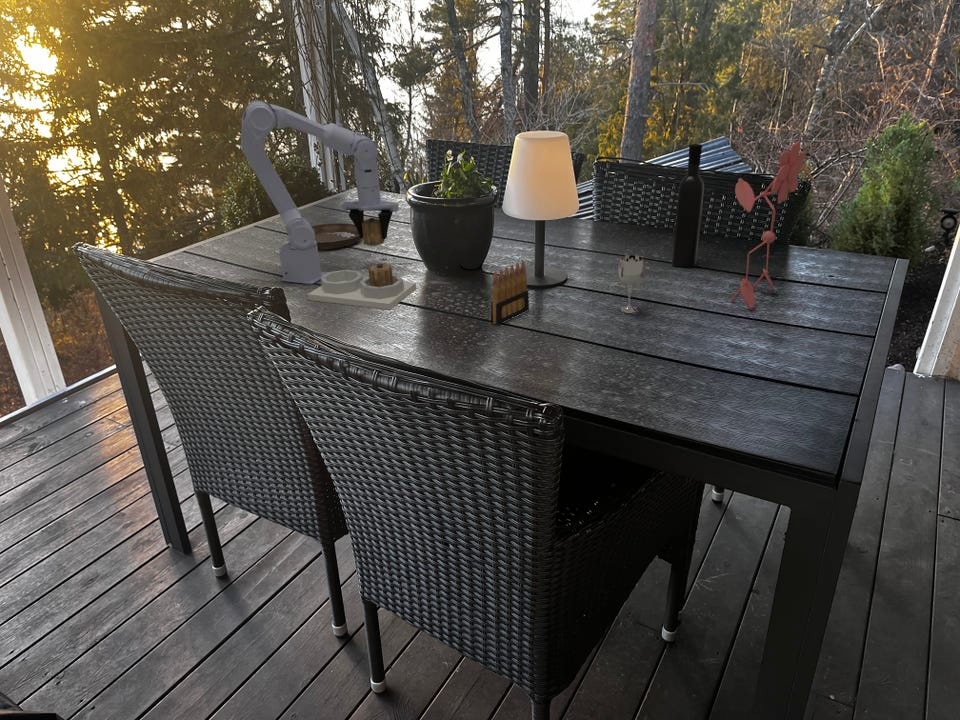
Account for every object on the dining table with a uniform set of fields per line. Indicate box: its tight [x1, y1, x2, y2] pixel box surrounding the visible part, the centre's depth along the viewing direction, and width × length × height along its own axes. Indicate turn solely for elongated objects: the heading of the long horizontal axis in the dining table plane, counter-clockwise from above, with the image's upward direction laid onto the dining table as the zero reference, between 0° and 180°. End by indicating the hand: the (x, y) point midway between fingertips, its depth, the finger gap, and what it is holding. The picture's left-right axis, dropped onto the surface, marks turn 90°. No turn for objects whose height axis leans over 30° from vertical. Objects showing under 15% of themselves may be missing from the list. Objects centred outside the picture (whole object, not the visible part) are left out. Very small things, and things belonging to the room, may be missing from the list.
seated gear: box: [368, 263, 393, 287], centre depth 165 cm, size 5×5×7 cm
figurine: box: [730, 139, 816, 310], centre depth 146 cm, size 15×26×35 cm, turn 133°
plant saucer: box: [311, 222, 361, 250], centre depth 209 cm, size 21×21×3 cm
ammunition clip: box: [490, 260, 530, 326], centre depth 150 cm, size 11×2×12 cm, turn 136°
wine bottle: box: [671, 143, 705, 268], centre depth 173 cm, size 6×6×30 cm
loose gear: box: [361, 217, 385, 247], centre depth 181 cm, size 5×5×7 cm
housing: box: [307, 269, 417, 311], centre depth 168 cm, size 22×14×4 cm, turn 69°
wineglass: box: [616, 254, 646, 313], centre depth 151 cm, size 6×6×12 cm
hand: (373, 238), depth 182 cm, fingers closed on loose gear, 5 cm apart
